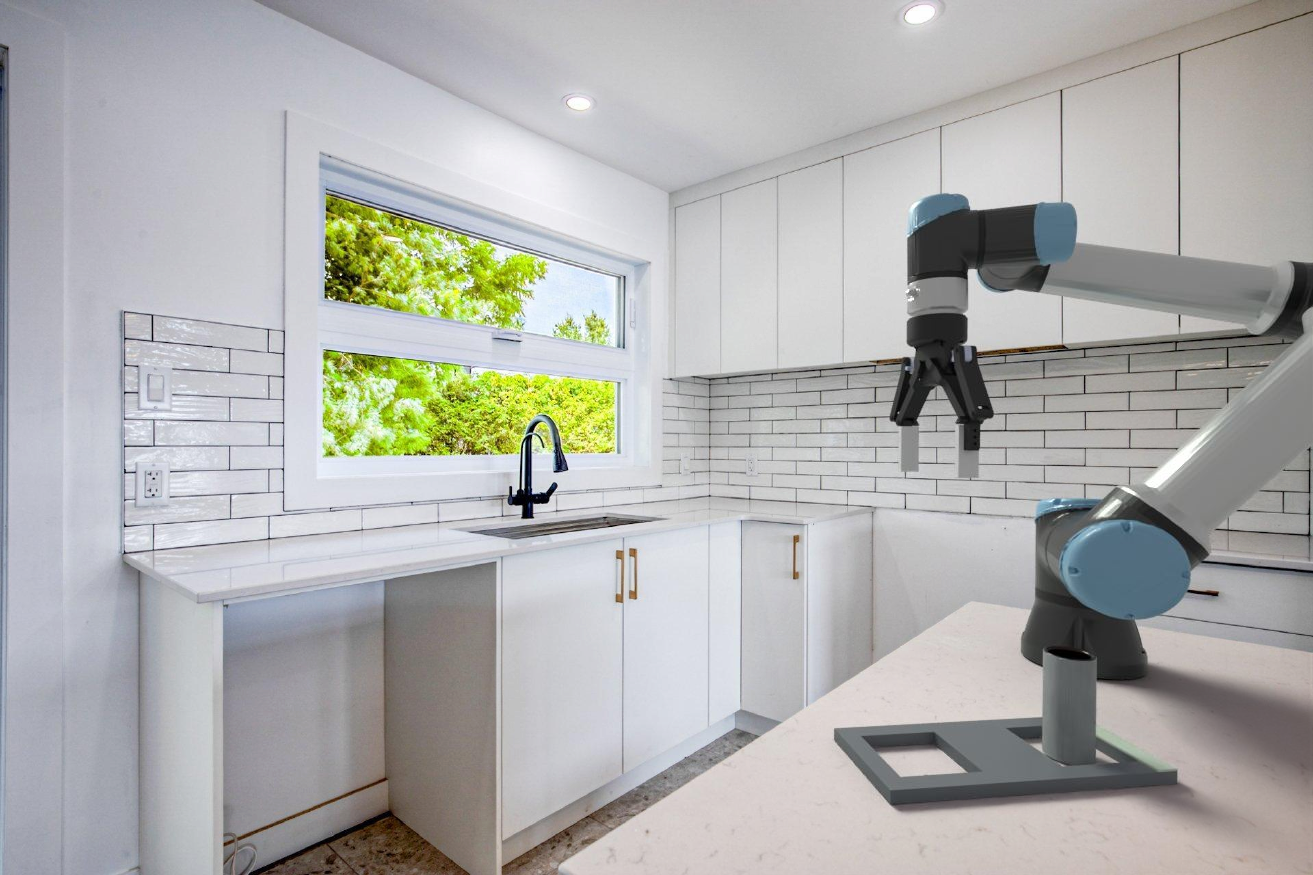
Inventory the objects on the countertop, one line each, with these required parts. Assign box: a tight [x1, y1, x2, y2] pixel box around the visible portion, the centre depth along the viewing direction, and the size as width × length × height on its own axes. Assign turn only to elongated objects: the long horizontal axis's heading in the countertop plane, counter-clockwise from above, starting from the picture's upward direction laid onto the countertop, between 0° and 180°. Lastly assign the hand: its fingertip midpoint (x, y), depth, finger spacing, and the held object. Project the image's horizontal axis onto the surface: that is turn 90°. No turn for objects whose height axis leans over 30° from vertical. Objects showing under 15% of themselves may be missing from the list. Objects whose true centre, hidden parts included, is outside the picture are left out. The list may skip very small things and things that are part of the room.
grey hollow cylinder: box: [1041, 646, 1098, 766], centre depth 65 cm, size 4×4×10 cm
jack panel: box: [833, 716, 1179, 805], centre depth 64 cm, size 28×12×1 cm, turn 98°
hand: (935, 474), depth 87 cm, fingers open, 13 cm apart
